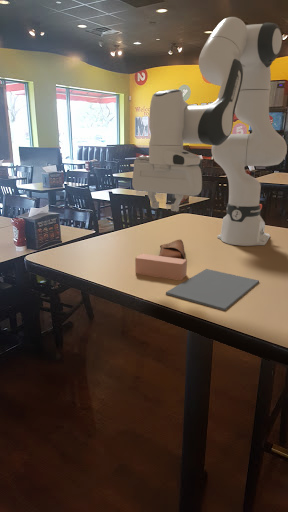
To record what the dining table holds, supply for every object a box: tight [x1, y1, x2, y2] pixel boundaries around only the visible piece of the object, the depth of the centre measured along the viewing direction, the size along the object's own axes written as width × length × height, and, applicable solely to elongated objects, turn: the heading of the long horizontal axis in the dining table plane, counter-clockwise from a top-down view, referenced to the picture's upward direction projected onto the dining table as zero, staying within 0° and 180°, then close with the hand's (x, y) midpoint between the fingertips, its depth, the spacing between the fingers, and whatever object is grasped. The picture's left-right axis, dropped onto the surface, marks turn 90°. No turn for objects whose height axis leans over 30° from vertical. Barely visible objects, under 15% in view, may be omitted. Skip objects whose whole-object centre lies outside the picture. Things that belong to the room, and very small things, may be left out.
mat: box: [165, 268, 260, 312], centre depth 99 cm, size 22×16×1 cm
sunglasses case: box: [158, 239, 186, 259], centre depth 124 cm, size 18×7×7 cm
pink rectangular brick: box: [134, 253, 188, 281], centre depth 109 cm, size 4×14×5 cm, turn 67°
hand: (164, 209), depth 103 cm, fingers open, 5 cm apart
